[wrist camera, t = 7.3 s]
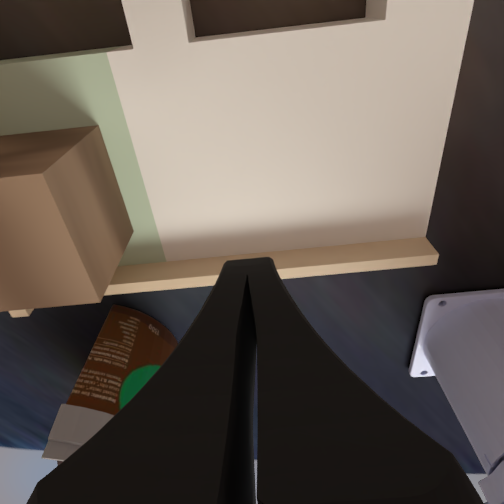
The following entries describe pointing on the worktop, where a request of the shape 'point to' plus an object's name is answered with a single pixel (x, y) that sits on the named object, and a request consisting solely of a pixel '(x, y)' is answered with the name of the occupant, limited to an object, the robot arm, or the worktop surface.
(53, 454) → the food container
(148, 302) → the worktop surface
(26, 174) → the walnut block
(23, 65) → the trap deck
